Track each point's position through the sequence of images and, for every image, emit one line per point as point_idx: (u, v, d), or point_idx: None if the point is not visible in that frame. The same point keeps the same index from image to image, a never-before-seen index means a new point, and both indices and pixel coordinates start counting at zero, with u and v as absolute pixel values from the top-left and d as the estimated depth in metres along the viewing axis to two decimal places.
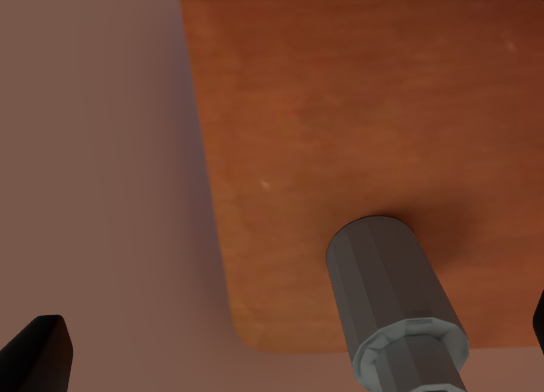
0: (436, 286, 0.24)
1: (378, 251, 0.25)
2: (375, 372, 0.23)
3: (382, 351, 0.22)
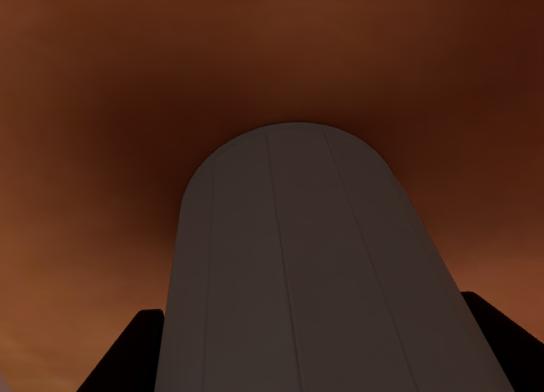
0: (455, 314, 0.07)
1: (274, 202, 0.08)
2: None
3: None
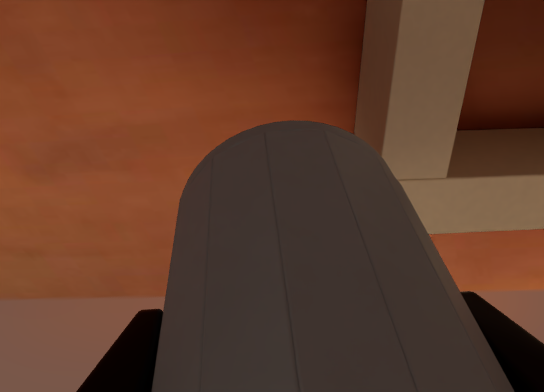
0: (454, 313, 0.07)
1: (272, 200, 0.08)
2: None
3: None
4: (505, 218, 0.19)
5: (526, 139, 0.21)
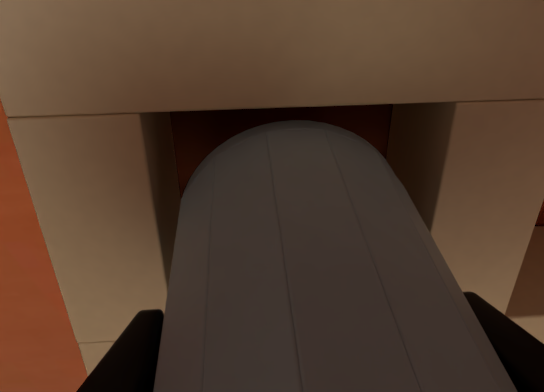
0: (457, 313, 0.07)
1: (274, 199, 0.08)
2: None
3: None
4: None
5: None
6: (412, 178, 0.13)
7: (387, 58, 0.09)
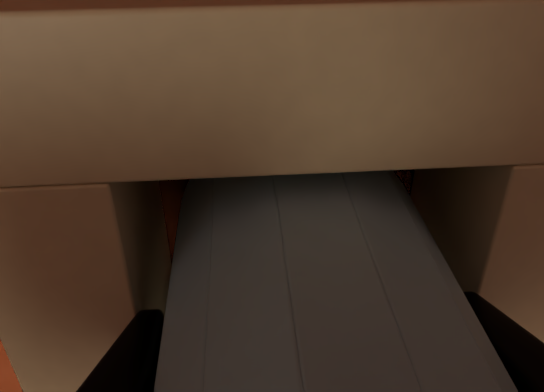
0: (457, 312, 0.07)
1: (274, 199, 0.08)
2: None
3: None
4: None
5: None
6: (445, 240, 0.11)
7: (429, 115, 0.07)
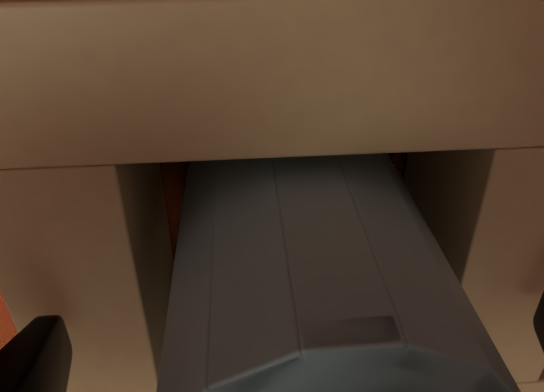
0: (424, 243, 0.08)
1: None
2: None
3: None
4: None
5: None
6: (435, 225, 0.11)
7: (415, 100, 0.08)
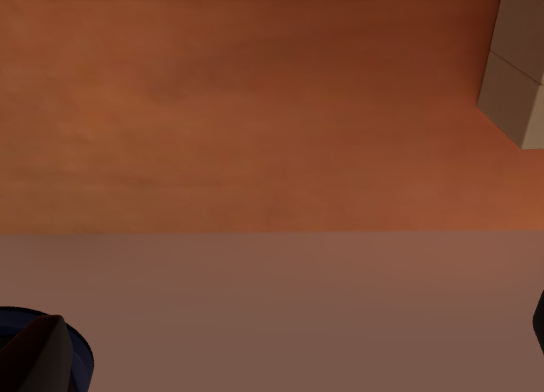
0: None
1: None
2: None
3: None
4: None
5: None
6: None
7: None
